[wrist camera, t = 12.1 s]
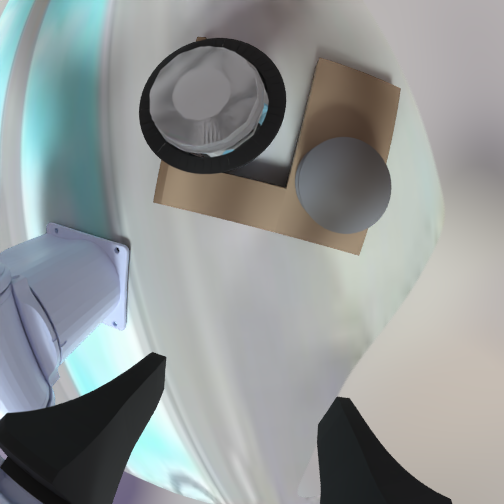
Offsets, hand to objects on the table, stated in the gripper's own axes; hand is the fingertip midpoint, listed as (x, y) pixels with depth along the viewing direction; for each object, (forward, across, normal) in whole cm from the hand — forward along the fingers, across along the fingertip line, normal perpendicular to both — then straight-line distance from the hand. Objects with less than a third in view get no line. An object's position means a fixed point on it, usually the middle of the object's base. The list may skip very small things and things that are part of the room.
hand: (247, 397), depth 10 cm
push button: (+11, +4, -11) cm, 16 cm away
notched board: (+10, +2, -11) cm, 15 cm away
